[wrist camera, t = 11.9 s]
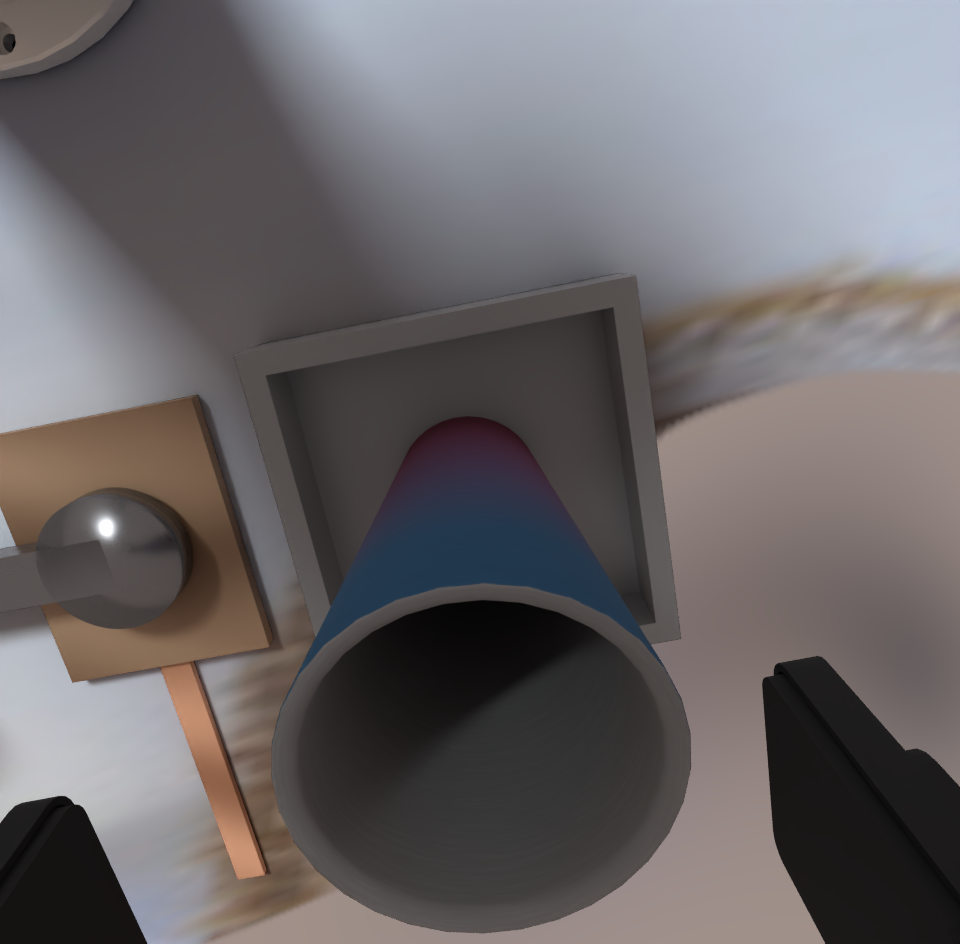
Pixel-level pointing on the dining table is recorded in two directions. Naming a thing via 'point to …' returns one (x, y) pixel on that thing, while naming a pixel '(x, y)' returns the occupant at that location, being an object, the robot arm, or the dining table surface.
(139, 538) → the crank
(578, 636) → the cup
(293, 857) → the dining table surface
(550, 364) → the tray
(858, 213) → the dining table surface
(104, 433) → the crank base
